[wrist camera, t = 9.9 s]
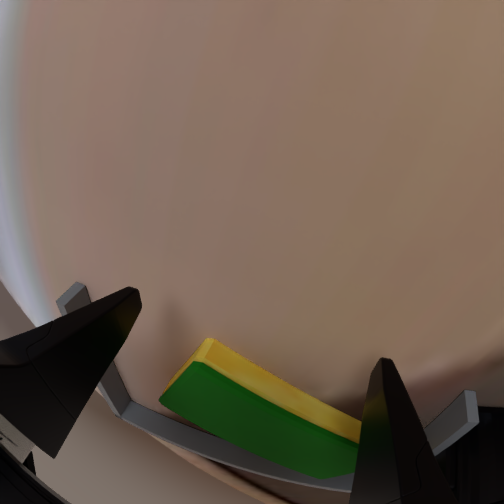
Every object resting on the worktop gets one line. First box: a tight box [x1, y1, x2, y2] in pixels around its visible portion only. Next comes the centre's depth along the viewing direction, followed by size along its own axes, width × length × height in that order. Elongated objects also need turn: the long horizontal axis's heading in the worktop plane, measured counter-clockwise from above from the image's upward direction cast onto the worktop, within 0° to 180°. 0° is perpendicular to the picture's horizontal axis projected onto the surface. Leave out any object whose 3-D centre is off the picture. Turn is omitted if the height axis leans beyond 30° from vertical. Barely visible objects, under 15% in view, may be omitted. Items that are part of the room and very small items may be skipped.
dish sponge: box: [159, 338, 361, 479], centre depth 17 cm, size 7×14×2 cm, turn 59°
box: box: [56, 282, 479, 493], centre depth 17 cm, size 24×15×2 cm, turn 85°
